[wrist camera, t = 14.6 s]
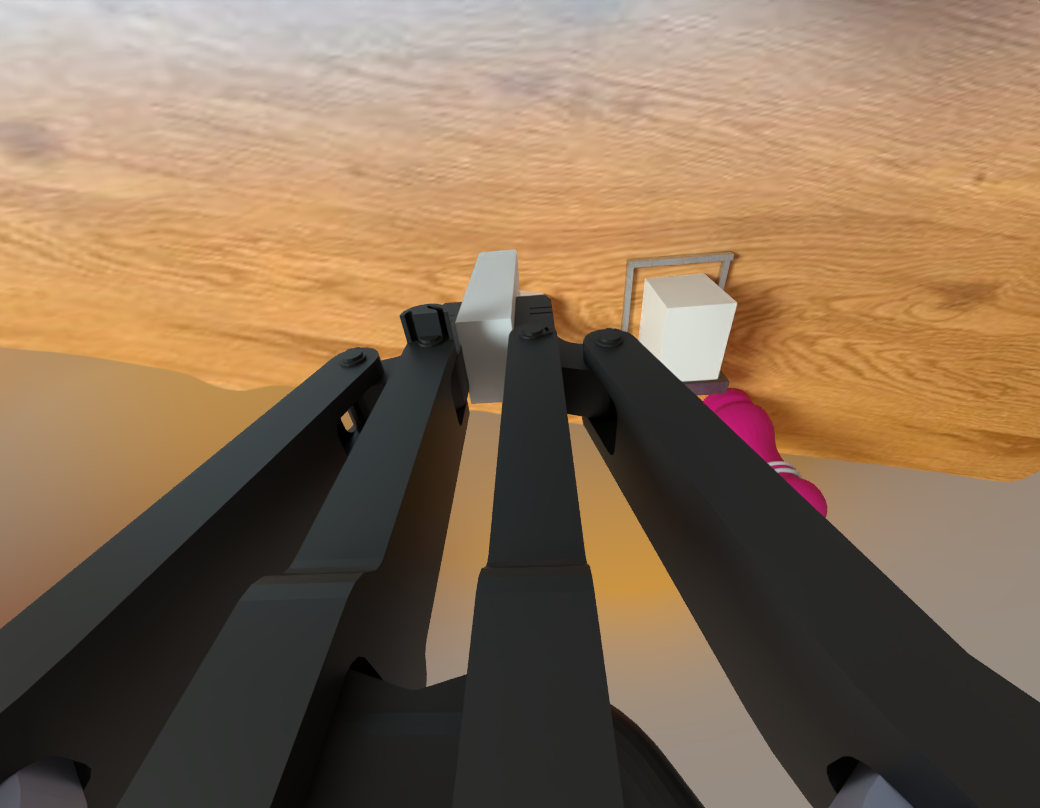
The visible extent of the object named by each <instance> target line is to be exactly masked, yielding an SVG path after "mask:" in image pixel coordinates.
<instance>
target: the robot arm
mask: <svg viewBox="0 0 1040 808" xmlns="http://www.w3.org/2000/svg"><path fill="white" fill-rule="evenodd" d="M400 319H401V322H402V326H403V329H404V332H405V336H406V339H407V345H406V347H405V349H404V351H403V353H402V355H401V356H398V357H395V358H390V359H386V360H382V361H381V359H380V357H379V354H378V351H376V350H375V349H372V348H360V347H357V348H354V349H353V348H352V349H348V350H346V351H345V352H343V353H340V354H338V355H337V356H335V357H334V358H332V359H331V360H330V361H328V362H327V363H326V364H325V365H324V366H322V367H321V368H320V369H319V370H317V371H316V372H315V373H314V374H313V375H311V376H310V377H309V378H308V379H306V380H305V381H304V382H303V383H302V384H300V385H299V386H298V387H297V388H295V389H294V390H293V391H292V392H291V393H289V394H288V395H287V396H286V397H284V398H283V399H282V400H281V401H280V402H278V403H277V404H276V405H275V406H273V407H272V408H271V409H270V410H268V411H267V412H266V413H265V414H264V415H262V416H261V417H260V418H259V419H258V420H256V421H255V422H254V423H252V424H251V425H250V426H249V427H248V428H246V429H245V430H244V431H243V432H242V433H240V434H239V435H238V436H237V437H235V438H234V439H233V440H232V441H230V442H229V443H228V444H227V445H226V446H224V447H223V448H222V449H221V450H220V451H218V452H217V453H216V454H214V455H213V456H212V457H211V458H210V459H208V460H207V461H206V462H205V463H203V464H202V465H201V466H200V467H199V468H197V469H196V470H195V471H194V472H192V473H191V474H190V475H189V476H188V477H186V478H185V479H184V480H183V481H182V482H180V483H179V484H178V485H176V486H175V487H174V488H173V489H172V490H171V491H169V492H168V493H167V494H165V495H164V496H163V497H162V498H161V499H159V500H158V501H157V502H156V503H154V504H153V505H152V506H151V507H150V508H148V509H147V510H146V511H145V512H143V513H142V514H141V515H140V516H139V517H137V518H136V519H135V520H134V521H133V522H131V523H130V524H129V525H127V526H126V527H125V528H124V529H123V530H121V531H120V532H119V533H118V534H116V535H115V536H114V537H113V538H111V539H110V540H109V541H108V542H107V543H105V544H104V545H103V546H102V547H100V548H99V549H98V550H97V551H96V552H94V553H93V554H92V555H91V556H89V557H88V558H87V559H86V560H85V561H83V562H82V563H81V564H80V565H78V566H77V567H76V568H75V569H74V570H72V571H71V572H70V573H69V574H67V575H66V576H65V577H64V578H63V579H61V580H60V581H59V582H58V583H56V584H55V585H54V586H53V587H51V588H50V589H49V590H48V591H47V592H45V593H44V594H43V595H42V596H40V597H39V598H38V599H37V600H36V601H34V602H33V603H32V604H31V605H29V606H28V607H27V608H26V609H25V610H23V611H22V612H21V613H20V614H18V615H17V616H16V617H15V618H14V619H12V620H11V621H10V622H8V623H7V624H6V625H5V626H4V627H2V628H1V629H0V808H705V807H704V806H703V805H702V803H701V802H700V801H699V799H698V798H697V797H696V795H695V794H694V793H693V792H692V790H691V789H690V788H689V786H688V785H687V784H686V782H685V781H684V780H683V778H682V777H681V776H680V775H679V773H678V772H677V771H676V769H675V768H674V767H673V765H672V764H671V763H670V762H669V760H668V759H667V758H666V756H665V755H664V754H663V753H662V751H661V750H660V749H659V748H658V746H657V745H656V744H655V743H654V742H653V741H652V740H651V739H650V738H649V737H648V735H646V733H645V732H644V731H643V730H642V729H641V728H640V727H639V726H638V725H637V724H635V722H633V721H632V720H631V719H629V718H628V717H627V716H626V715H625V714H624V713H623V712H621V711H620V710H619V709H617V708H616V707H614V706H613V705H611V704H610V701H609V694H608V686H607V679H606V672H605V665H604V657H603V650H602V643H601V635H600V629H599V621H598V614H597V606H596V599H595V593H594V586H593V579H592V574H591V570H590V566H589V565H588V564H587V561H586V556H585V549H584V542H583V534H582V525H581V518H580V510H579V502H578V494H577V487H576V479H575V471H574V463H573V456H572V448H571V440H570V432H569V424H568V416H567V414H572V415H578V416H582V420H583V424H584V426H585V428H586V430H587V431H588V433H589V435H590V437H591V438H592V440H593V442H594V444H595V445H596V447H597V449H598V451H599V452H600V454H601V456H602V458H603V459H604V461H605V463H606V465H607V466H608V468H609V470H610V472H611V474H612V475H613V477H614V479H615V480H616V482H617V484H618V486H619V488H620V489H621V491H622V493H623V495H624V496H625V498H626V500H627V501H628V503H629V505H630V507H631V508H632V510H633V512H634V514H635V515H636V517H637V519H638V521H639V523H640V524H641V526H642V528H643V529H644V531H645V533H646V535H647V537H648V538H649V540H650V542H651V544H652V545H653V547H654V549H655V551H656V552H657V554H658V556H659V558H660V559H661V561H662V563H663V565H664V566H665V568H666V570H667V572H668V573H669V575H670V577H671V579H672V581H673V582H674V584H675V586H676V587H677V589H678V591H679V593H680V594H681V596H682V598H683V600H684V601H685V603H686V605H687V607H688V608H689V610H690V612H691V614H692V616H693V617H694V619H695V621H696V623H697V624H698V626H699V628H700V629H701V631H702V633H703V635H704V636H705V638H706V640H707V641H708V644H709V645H710V647H711V649H712V650H713V652H714V654H715V656H716V658H717V659H718V661H719V663H720V665H721V666H722V668H723V670H724V672H725V673H726V675H727V677H728V679H729V680H730V682H731V684H732V686H733V687H734V689H735V691H736V693H737V694H738V696H739V698H740V700H741V702H742V703H743V705H744V707H745V709H746V710H747V712H748V713H749V715H750V717H751V718H752V720H753V721H754V723H755V725H756V726H757V728H758V730H759V731H760V733H761V734H762V736H763V738H764V739H765V741H766V742H767V744H768V746H769V747H770V749H771V750H772V752H773V754H774V755H775V756H776V758H777V759H778V760H779V762H780V763H781V765H782V766H783V767H784V769H785V770H786V771H787V773H788V774H789V775H790V777H791V778H792V780H793V781H794V782H795V784H796V785H797V786H798V788H799V789H800V791H801V792H802V794H803V795H804V796H805V798H806V799H807V800H808V802H809V803H810V804H811V805H812V806H813V808H1040V702H1038V701H1037V700H1035V699H1034V698H1032V697H1031V696H1030V695H1028V694H1027V693H1025V692H1024V691H1022V690H1021V689H1019V688H1018V687H1016V686H1015V685H1013V684H1012V683H1010V682H1009V681H1007V680H1006V679H1005V678H1003V677H1002V676H1000V675H999V674H997V673H996V672H994V671H993V670H991V669H990V668H988V667H987V666H985V665H984V664H983V663H981V662H979V661H978V660H977V659H975V658H974V657H972V656H971V655H969V654H968V653H967V652H966V651H965V650H964V649H963V648H962V647H961V646H959V644H958V643H956V642H955V641H954V640H953V639H952V638H951V637H950V636H949V635H948V634H947V633H946V632H945V631H944V630H943V629H942V628H941V627H940V626H938V624H936V623H935V622H934V621H933V620H932V619H931V618H930V617H929V616H928V615H927V614H926V613H925V612H924V611H923V610H922V609H921V608H920V607H918V605H916V604H915V603H914V602H913V601H912V600H911V599H910V598H909V597H908V596H907V595H906V594H905V593H904V592H903V591H902V590H900V589H899V587H897V586H896V585H895V584H894V583H893V582H892V581H891V580H890V579H889V578H888V577H887V576H886V575H885V574H884V573H882V571H881V570H880V569H879V568H877V567H876V566H875V565H874V564H873V563H872V562H871V561H870V560H869V559H868V558H867V557H866V556H865V555H864V554H863V553H862V552H861V551H859V550H858V549H857V548H856V547H855V546H854V545H853V544H852V543H851V542H850V541H849V540H848V539H847V538H846V537H845V536H844V535H843V534H842V533H841V532H840V531H838V530H837V529H836V528H835V527H834V526H833V525H832V524H831V523H830V522H829V521H828V520H827V519H826V518H825V517H824V516H823V515H822V514H821V513H820V512H818V511H817V510H816V509H815V508H814V507H813V506H812V505H811V504H810V503H809V502H808V501H807V500H806V499H805V498H804V497H803V496H802V495H801V494H800V493H798V492H797V491H796V490H795V489H794V488H793V487H792V486H791V485H790V484H789V483H788V482H787V481H786V480H785V479H784V478H783V477H782V476H781V475H780V474H778V473H777V472H776V471H775V470H774V469H773V468H772V467H771V466H770V465H769V464H768V463H767V462H766V461H765V460H764V459H763V458H762V457H761V456H760V455H758V454H757V453H756V452H755V451H754V450H753V449H752V448H751V447H750V446H749V445H748V444H747V443H746V442H745V441H744V440H743V439H742V438H741V437H739V436H738V435H737V434H736V433H735V432H734V431H733V430H732V429H731V428H730V427H729V426H728V425H727V424H726V423H725V422H724V421H723V420H722V419H721V418H719V417H718V416H717V415H716V414H715V413H714V412H713V411H712V410H711V409H710V408H709V407H708V406H707V405H706V404H705V403H704V402H703V401H702V400H701V399H699V398H698V397H697V396H696V395H695V394H694V393H693V392H692V391H691V390H690V389H689V388H688V387H687V386H686V385H685V384H684V383H683V382H682V381H681V380H679V379H678V378H677V377H676V376H675V375H674V374H673V373H672V372H671V371H670V370H669V369H668V368H667V367H666V366H665V365H664V364H663V363H662V362H660V361H659V360H658V359H657V358H656V357H655V356H654V355H653V354H652V353H651V352H650V351H649V350H648V349H647V348H646V347H645V346H644V345H643V344H642V343H640V342H639V341H638V340H637V339H636V338H635V337H634V336H633V335H631V334H630V333H628V332H625V331H622V330H619V329H614V328H613V329H612V328H607V329H603V330H597V331H594V332H591V333H589V334H588V335H586V336H585V338H584V340H583V344H576V343H570V342H567V341H564V340H562V339H560V338H559V337H558V336H557V332H556V330H555V328H554V320H553V313H552V304H551V299H549V298H548V297H547V296H545V295H531V296H521V295H520V284H519V272H518V261H517V249H515V250H503V251H491V252H480V253H479V256H478V259H477V262H476V264H475V267H474V270H473V273H472V276H471V279H470V282H469V284H468V287H467V290H466V293H465V296H464V299H463V302H454V303H445V304H443V305H440V304H425V305H419V306H415V307H412V308H410V309H408V310H406V311H404V312H403V313H402V314H401V315H400ZM468 392H469V394H470V399H471V404H476V403H492V402H503V403H502V414H501V425H500V436H499V447H498V458H497V468H496V479H495V490H494V501H493V512H492V524H491V535H490V545H489V555H488V562H487V565H486V567H484V568H482V569H481V572H480V574H479V578H478V584H477V590H476V598H475V607H474V616H473V625H472V634H471V643H470V652H469V661H468V670H467V674H466V675H463V676H460V677H457V678H454V679H450V680H447V681H444V682H441V683H438V684H435V685H432V686H429V687H426V679H427V678H426V676H427V673H426V659H425V649H426V639H427V634H428V629H429V623H430V618H431V613H432V608H433V602H434V597H435V592H436V587H437V582H438V576H439V571H440V566H441V561H442V555H443V550H444V544H445V539H446V534H447V529H448V523H449V518H450V513H451V508H452V503H453V498H454V492H455V487H456V482H457V477H458V471H459V466H460V460H461V455H462V450H463V445H464V439H465V435H466V429H467V423H468V418H469V407H468V402H467V396H468ZM347 411H348V413H349V415H350V417H351V420H352V422H353V424H354V425H353V426H352V427H351V429H349V430H348V431H347V430H346V429H345V427H344V425H343V423H342V421H341V417H342V416H343V415H344V414H345V413H346V412H347Z"/></svg>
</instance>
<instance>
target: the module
mask: <svg viewBox="0 0 1040 808" xmlns="http://www.w3.org/2000/svg"><path fill="white" fill-rule="evenodd" d="M736 306H737V302H736V301H735V300H734V299H733V298H731V297H730V296H729V295H728V294H727V293H726V292H725V291H723V290H722V289H721V288H720V287H719V286H718V285H717V284H716V283H714V282H713V281H712V280H711V279H710V278H709V277H708V276H707V275H705V274H704V273H700V274H688V275H676V276H664V277H652V278H645V285H644V295H643V304H642V313H641V323H640V332H639V342H640V343H642V344H643V345H644V346H645V347H646V348H647V349H648V350H649V351H650V352H651V353H652V354H653V355H654V356H655V357H656V358H657V359H658V360H659V361H660V362H662V363H663V364H664V365H665V366H666V367H667V368H668V369H669V370H670V371H671V372H672V373H673V374H674V375H675V376H676V377H677V378H678V379H679V380H681V381H698V380H713V379H718V375H719V371H720V368H721V364H722V360H723V356H724V352H725V348H726V345H727V341H728V337H729V333H730V329H731V326H732V322H733V318H734V314H735V310H736Z"/></svg>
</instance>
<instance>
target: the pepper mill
mask: <svg viewBox="0 0 1040 808" xmlns="http://www.w3.org/2000/svg"><path fill="white" fill-rule="evenodd" d="M703 402H704V403H705V404H706V405H707V406H708V407H709V408H710V409H711V410H712V411H713V412H714V413H715V414H716V415H717V416H718V417H719V418H721V419H722V420H723V421H724V422H725V423H726V424H727V425H728V426H729V427H730V428H731V429H732V430H733V431H734V432H735V433H736V434H737V435H738V436H739V437H741V438H742V439H743V440H744V441H745V442H746V443H747V444H748V445H749V446H750V447H751V448H752V449H753V450H754V451H755V452H756V453H757V454H758V455H760V456H761V457H762V458H763V459H764V460H765V461H766V462H767V463H768V464H769V465H770V466H771V467H772V468H773V469H774V470H775V471H776V472H777V473H778V474H780V475H781V476H782V477H783V478H784V479H785V480H786V481H787V482H788V483H789V484H790V485H791V486H792V487H793V488H794V489H795V490H796V491H797V492H798V493H800V494H801V495H802V496H803V497H804V498H805V499H806V500H807V501H808V502H809V503H810V504H811V505H812V506H813V507H814V508H815V509H816V510H817V511H818V512H820V513H821V514H822V515H823V516H824V517H826V515H827V504H826V500H825V498H824V496H823V495H822V493H821V491H820V490H819V489H818V488H817V487H816V486H815V485H814V484H812V483H811V482H809V481H807V480H804V479H802V477H801V475H800V473H799V472H797V470H796V468H795V467H794V466H793V465H792V464H790V463H788V462H784V460H783V459H782V458H781V456H780V454H779V453H778V451H777V448H776V444H775V435H774V428H773V425H772V421H771V420H770V418H769V416H768V415H767V413H766V412H765V411H764V410H763V409H762V408H761V407H759V406H757V405H755V404H753V403H752V401H751V400H750V399H749V398H748V396H747V395H746V394H745V393H744V392H743V391H741V390H738V389H732V388H729V389H727V392H726V394H711V395H709V396H708V397H707V398H705V399H704V401H703Z"/></svg>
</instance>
